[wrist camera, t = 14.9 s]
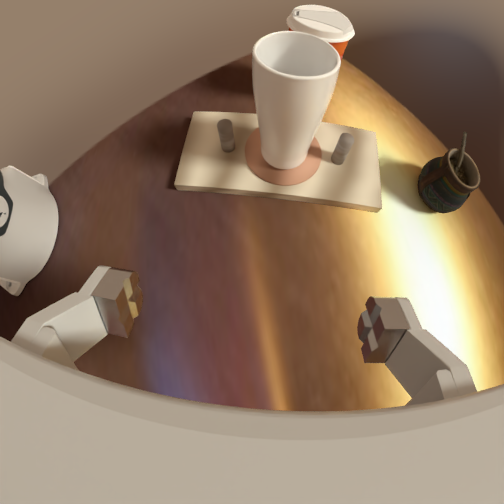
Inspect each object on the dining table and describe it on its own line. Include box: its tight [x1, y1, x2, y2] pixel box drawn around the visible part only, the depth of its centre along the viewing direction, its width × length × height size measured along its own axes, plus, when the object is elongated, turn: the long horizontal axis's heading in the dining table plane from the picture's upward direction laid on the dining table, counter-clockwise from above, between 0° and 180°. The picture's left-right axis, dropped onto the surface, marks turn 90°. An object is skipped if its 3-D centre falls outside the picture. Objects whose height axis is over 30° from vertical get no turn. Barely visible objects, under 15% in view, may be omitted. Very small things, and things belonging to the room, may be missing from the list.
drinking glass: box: [252, 31, 341, 170], centre depth 24 cm, size 7×7×15 cm
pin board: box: [174, 112, 382, 212], centre depth 30 cm, size 24×11×6 cm, turn 83°
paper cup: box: [286, 5, 355, 59], centre depth 29 cm, size 8×8×14 cm
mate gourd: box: [418, 132, 480, 213], centre depth 27 cm, size 7×8×10 cm
